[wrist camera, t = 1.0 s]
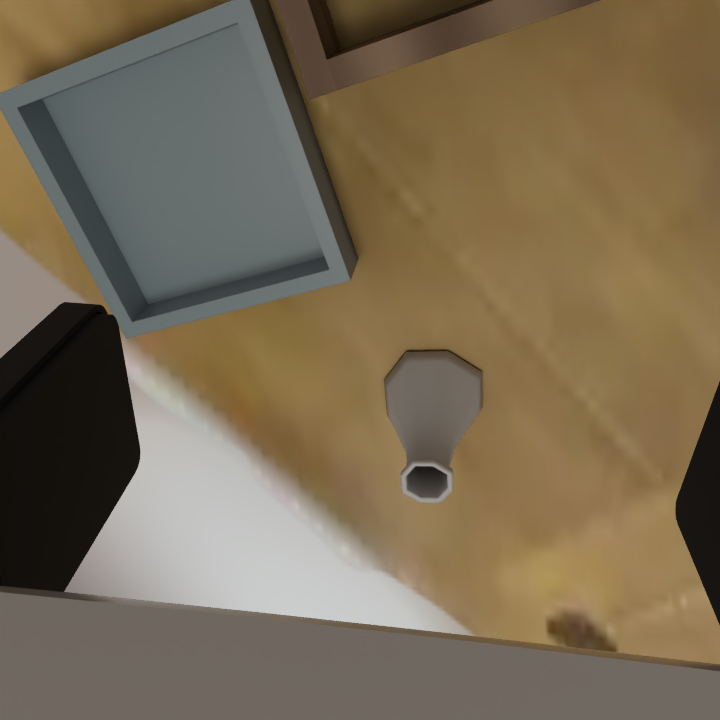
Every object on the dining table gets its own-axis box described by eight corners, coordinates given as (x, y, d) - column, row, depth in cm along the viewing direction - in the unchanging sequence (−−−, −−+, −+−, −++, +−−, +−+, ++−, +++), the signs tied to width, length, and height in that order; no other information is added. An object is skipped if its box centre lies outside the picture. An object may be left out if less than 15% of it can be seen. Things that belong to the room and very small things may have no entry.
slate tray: (265, -9, 36) (247, -7, 33) (358, 259, 44) (350, 280, 40) (27, 86, 41) (-7, 95, 38) (147, 315, 48) (126, 338, 45)
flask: (397, 335, 46) (382, 419, 37) (499, 362, 46) (507, 453, 37) (372, 417, 50) (353, 511, 41) (466, 443, 50) (467, 542, 41)
